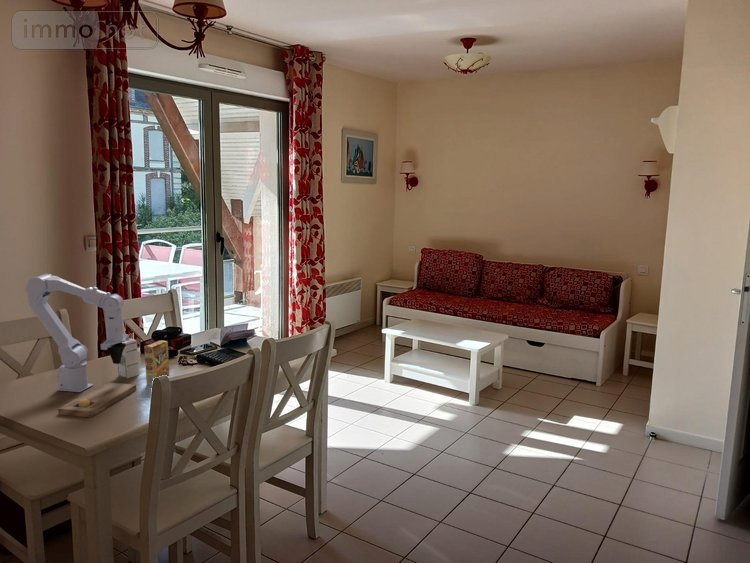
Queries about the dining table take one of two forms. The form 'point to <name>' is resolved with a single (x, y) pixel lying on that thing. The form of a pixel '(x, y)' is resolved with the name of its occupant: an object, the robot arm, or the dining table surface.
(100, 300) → the robot arm
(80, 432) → the dining table surface
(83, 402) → the ball
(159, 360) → the candy box
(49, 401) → the dining table surface
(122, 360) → the syrup box
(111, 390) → the hole board
